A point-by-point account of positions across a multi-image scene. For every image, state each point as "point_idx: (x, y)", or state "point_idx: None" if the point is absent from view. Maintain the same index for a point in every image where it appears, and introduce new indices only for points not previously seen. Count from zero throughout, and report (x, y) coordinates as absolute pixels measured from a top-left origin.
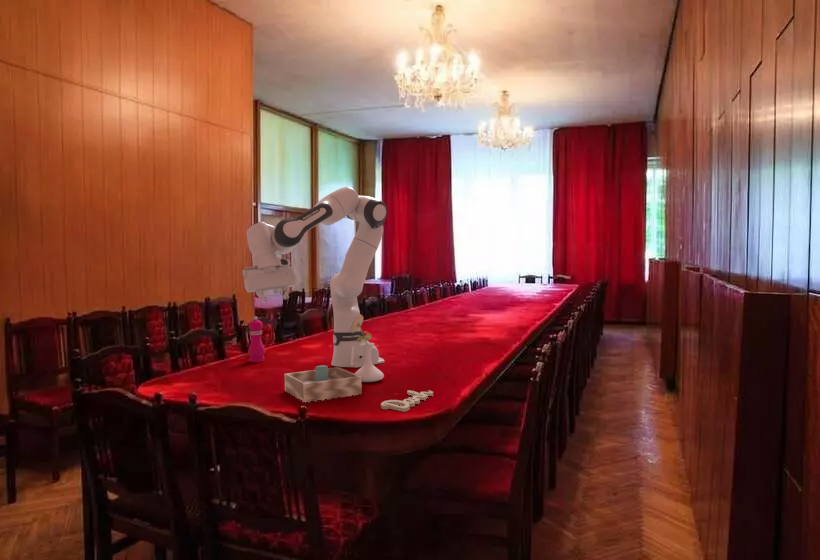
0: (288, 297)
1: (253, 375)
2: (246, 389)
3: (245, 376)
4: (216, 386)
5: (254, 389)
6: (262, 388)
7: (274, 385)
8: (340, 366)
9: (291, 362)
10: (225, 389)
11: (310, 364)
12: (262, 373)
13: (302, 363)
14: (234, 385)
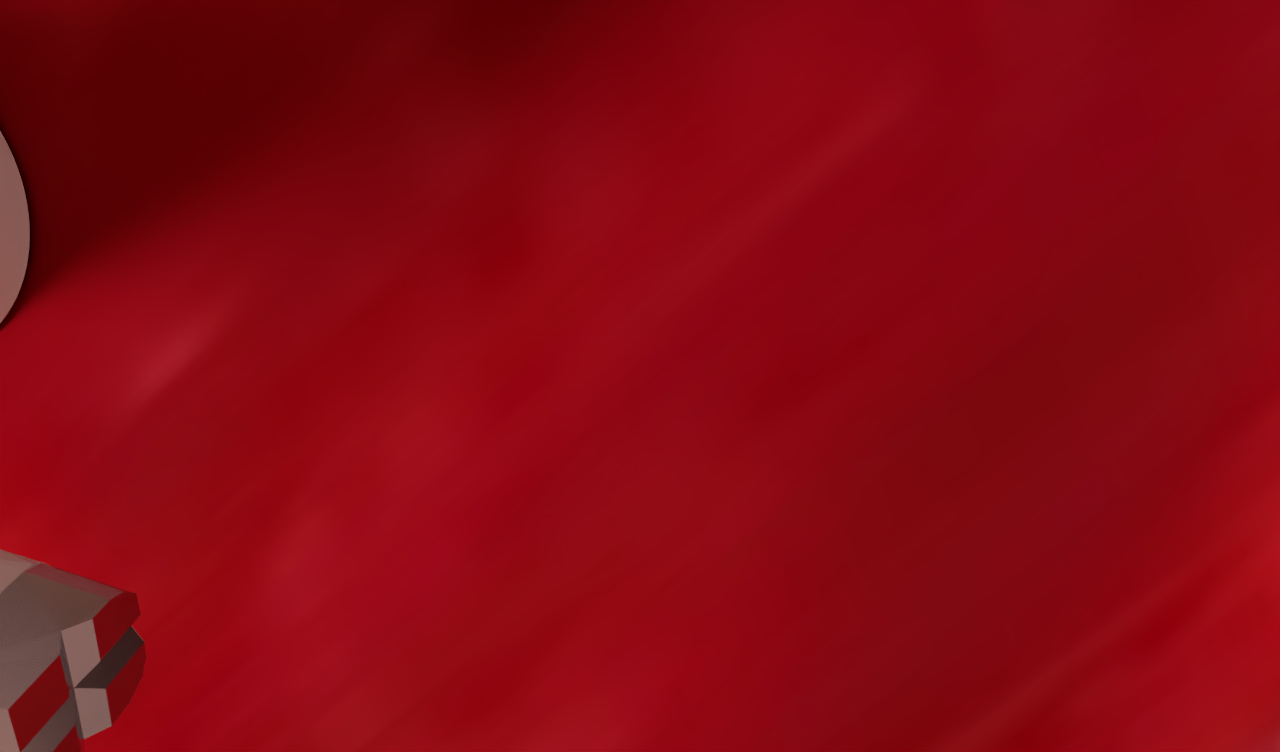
0: (11, 556)
1: (595, 686)
2: (1064, 384)
3: (653, 722)
4: (1054, 700)
5: (1039, 317)
6: (980, 276)
7: (839, 256)
8: (20, 185)
9: None
10: (1126, 556)
11: (63, 518)
12: (505, 666)
13: None
14: (968, 586)
